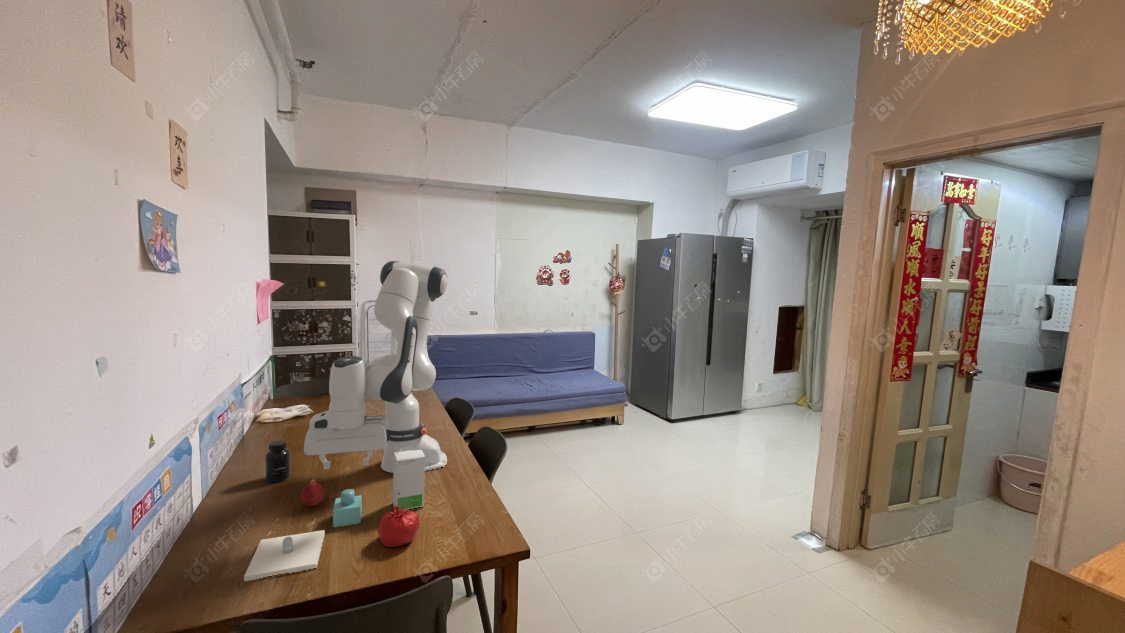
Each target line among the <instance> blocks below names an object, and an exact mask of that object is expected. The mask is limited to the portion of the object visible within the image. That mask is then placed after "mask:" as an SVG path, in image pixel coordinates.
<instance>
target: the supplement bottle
mask: <svg viewBox="0 0 1125 633" xmlns="http://www.w3.org/2000/svg"><path fill="white" fill-rule="evenodd" d="M287 447H288V446H287V441H286V440H282V439H279V440H274V441H271V442H269V444H268V451H267V452H266V453H265V455H264V458H265V459H264V468H265V469H264V472H265V473H264V475H265V478H264V479H265V481H266V482H267V483H271V484H272V483H273V484H274V483H280V482H284V481H287V480H288V479H289V477H290V476H291V451H290V450H289V449H288V448H287Z"/></svg>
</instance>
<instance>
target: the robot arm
mask: <svg viewBox="0 0 1125 633" xmlns="http://www.w3.org/2000/svg"><path fill="white" fill-rule="evenodd" d="M379 281H380V284H381V287H380V290H379V291H378V293H377V294H378V295H377V298H376V299H375V302H374V307H373V313H374V316H375V318H376V320H377V321H378V323H380V324H381V325H382V326H383V327H384V328H387V330H390V331H391V332H393V333H394V334H393V338H394V339H395V341H396V342H397V349H396V354H391V353H390V354H382V355H378V356H377V357H375V358H374V359H373V361H372V362H371V363H367V362H366V361H365V360H363V358H362V357H360V356H357V355H348V356H343V357H339V358H337V359H336V360H334V361H333V363H332V365H331V368H330V372H329V373H330V374H329V382H328V384H329V385H328V393H329V398H330V403H329V406H328V410H326V411H322V412H319V413H317V414H313V416H312V417H311V418H310V420H309V425H308V426H309V428H308V430H307V432H306V434H305V437H304V444H303V453H304V454H305V455H306V456H317V455H318V459H319V461H321V463H322V464H323V470H324V471H326V470H331V467H332V466H331V465H332V464H331V463H332V462H331V460H328V459H327V458H326V455H330V454H341V453H353V452H354V453H355V452H364V451H367V455H366V456H365V457H363V458H362V467H366V466H369V460H370V458H371V457H372V455H373V453H374V450H375V451H376V450H377V451H378V450H383V457H382V460H381V463H380V468H381V469H382V470H383V471H384V472H388V473H393V474H394V453H395V452H404V451H413V450H422V451H423V453H424V455H425V472H428V471H432V469H433V470H437V468H438V469H442V468H441V467H443V468H444V467H445V465H447V463H448V457H447V455H446V453H445V452H443V451H442V450H441V447H440V444H439V442H438V441H437V440H436V439H435V438H433V437H431V436H429V435H427V434H428V430H427V428H426V427H425V425H424V423H420V405H419V401H418V400H417V399H416V398H415V396H414V395H413V393H412V391H426V390H428V389H430V388H431V387H432V386H433V385H434V383H435V381H436V377H437V371H436V367H435V365H434V364H433V363H432V362H431V360H430V359H431V358H430V357H429V354H428V353H429V352H428V344H427V343H428V335H429V328H430V324H431V319H432V313H433V302H435V301H436V300H437V299H439V298H441V297H442V296H443V295H444V294H445V292H446V289H447V286H448V275H447V273H446V271H445V270H444V269H443V268H440V267H438V266H431V265H427V264H424V263H418V262H406V261H399V260H390V261H388V262H386V263H385V264H384V265H383V266H382V268H381V270H380V275H379ZM365 399H371V400H378V401H384V408H385V416H383V415H381V414H379V415H366V402H365ZM427 470H428V471H427Z"/></svg>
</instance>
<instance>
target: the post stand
mask: <svg viewBox="0 0 1125 633" xmlns="http://www.w3.org/2000/svg"><path fill="white" fill-rule="evenodd" d="M325 531H326V530H325V529H323V530H315V531H309V532H305V533H296V534H290V535H283V536H277V537H271V538H264V539H260V541H259V543H258V546H257V547H256V550H255V552H254V553H253V554H254V555H253V557H252V559H251V560H250V562H249V565H248V568H247V569H246V571H245V574H244V576H243V579H244V580H243V581H244V582H250V581H255V580H261V579H264V578H263V577H267V576H272V575H278V574H283V573H289V574H293V572H294V573H298V572H299V573H300V572H304V571H303V570H305V571H310V570H309V569H311V570H314V569H313V568H316V569H317V567H318V563H319V559H320V556H321V552H322V548H323V544H324V543H323V542H324V538H325V535H326V532H325ZM322 543H323V544H322ZM321 547H322V548H321ZM283 575H284V574H283ZM278 576H279V575H278ZM272 577H273V576H272ZM260 578H261V579H260ZM267 578H268V577H267Z"/></svg>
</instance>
